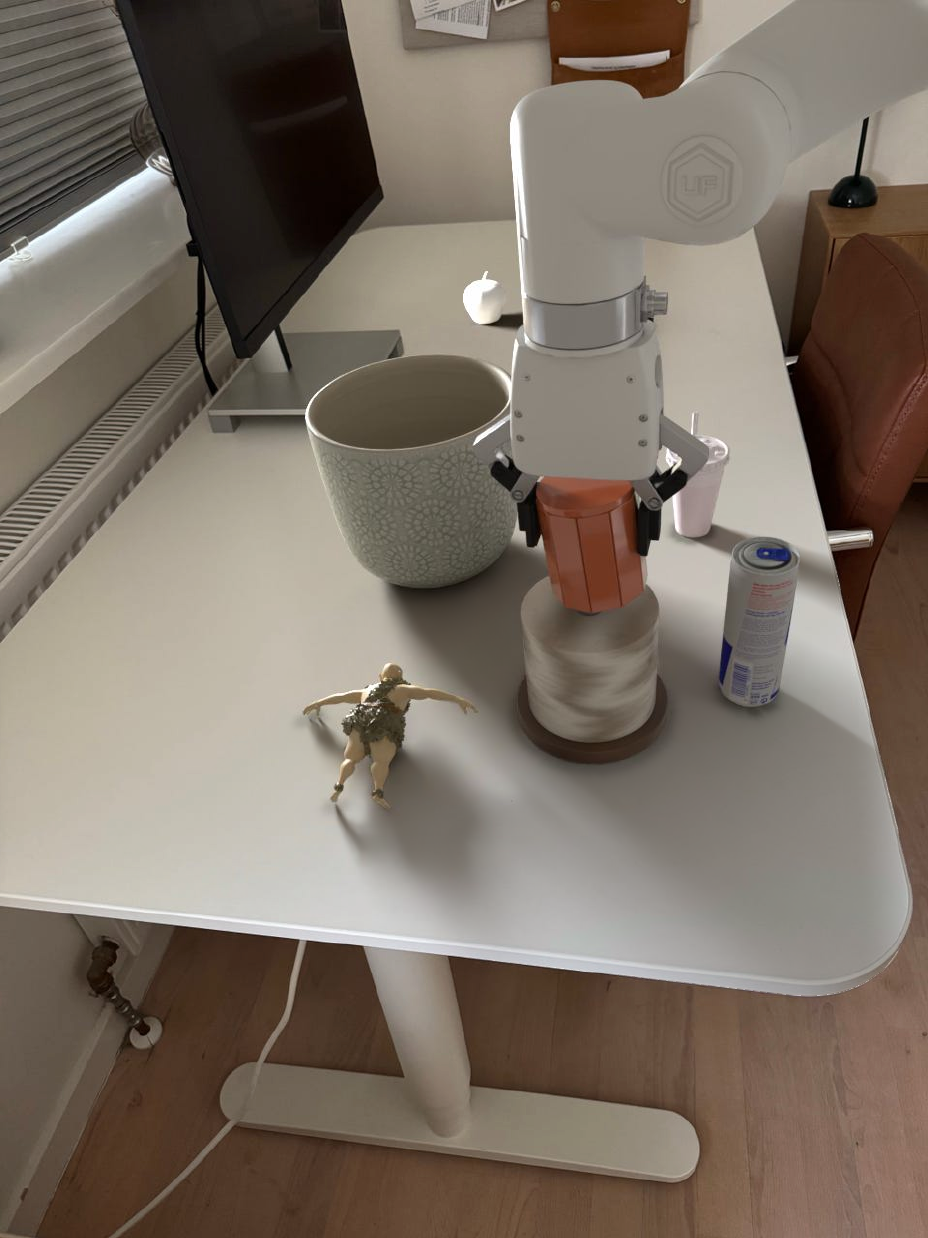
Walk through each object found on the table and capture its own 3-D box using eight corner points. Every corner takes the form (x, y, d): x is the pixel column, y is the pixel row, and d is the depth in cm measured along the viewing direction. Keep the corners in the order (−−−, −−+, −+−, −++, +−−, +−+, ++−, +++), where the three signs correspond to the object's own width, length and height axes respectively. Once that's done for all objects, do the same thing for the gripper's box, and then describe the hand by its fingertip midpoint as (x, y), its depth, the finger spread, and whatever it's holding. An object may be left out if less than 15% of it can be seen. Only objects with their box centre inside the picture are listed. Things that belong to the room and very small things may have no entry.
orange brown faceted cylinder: (548, 567, 73) (529, 470, 68) (639, 549, 72) (627, 450, 67) (557, 619, 67) (538, 519, 62) (656, 601, 66) (645, 498, 61)
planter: (561, 526, 101) (554, 367, 89) (468, 637, 88) (445, 469, 76) (409, 490, 110) (384, 342, 98) (304, 586, 97) (260, 429, 85)
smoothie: (652, 520, 100) (656, 405, 91) (704, 506, 101) (713, 391, 92) (680, 550, 95) (687, 432, 86) (734, 535, 96) (746, 417, 87)
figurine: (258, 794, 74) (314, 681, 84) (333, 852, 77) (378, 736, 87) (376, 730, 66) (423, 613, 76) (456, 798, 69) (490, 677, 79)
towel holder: (674, 666, 81) (687, 454, 67) (657, 775, 72) (667, 555, 58) (536, 651, 85) (520, 446, 71) (502, 752, 76) (476, 540, 62)
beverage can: (778, 675, 79) (801, 535, 70) (777, 716, 76) (801, 575, 66) (719, 668, 81) (733, 531, 71) (715, 708, 77) (729, 569, 67)
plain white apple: (505, 327, 146) (501, 278, 141) (463, 329, 148) (457, 280, 143) (510, 310, 152) (507, 263, 147) (469, 312, 153) (464, 265, 148)
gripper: (730, 288, 56) (712, 521, 67) (467, 290, 61) (491, 507, 72) (722, 337, 51) (704, 581, 62) (434, 335, 56) (465, 561, 67)
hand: (589, 540), depth 67 cm, fingers closed on orange brown faceted cylinder, 7 cm apart
